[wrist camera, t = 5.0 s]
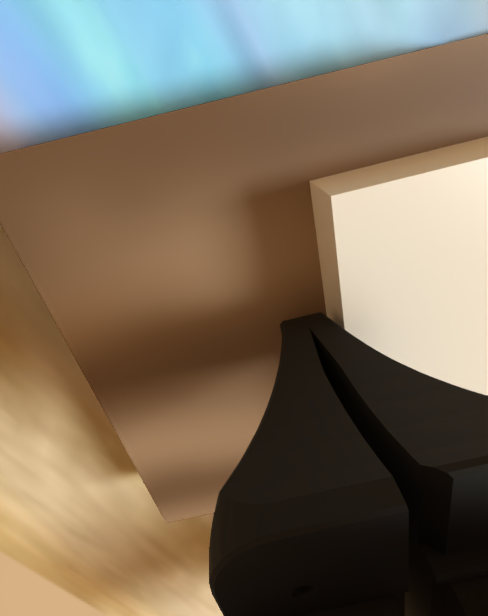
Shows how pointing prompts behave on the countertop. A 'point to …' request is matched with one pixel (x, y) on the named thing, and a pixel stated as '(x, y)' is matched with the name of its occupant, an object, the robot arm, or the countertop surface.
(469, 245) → the cream rectangular slab
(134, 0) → the countertop surface
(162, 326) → the brown wooden slab
